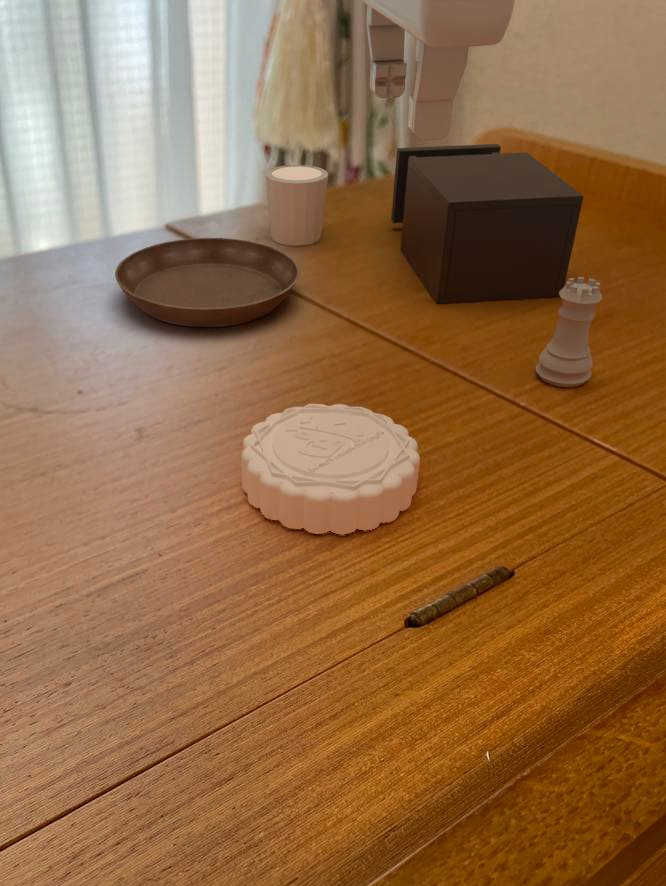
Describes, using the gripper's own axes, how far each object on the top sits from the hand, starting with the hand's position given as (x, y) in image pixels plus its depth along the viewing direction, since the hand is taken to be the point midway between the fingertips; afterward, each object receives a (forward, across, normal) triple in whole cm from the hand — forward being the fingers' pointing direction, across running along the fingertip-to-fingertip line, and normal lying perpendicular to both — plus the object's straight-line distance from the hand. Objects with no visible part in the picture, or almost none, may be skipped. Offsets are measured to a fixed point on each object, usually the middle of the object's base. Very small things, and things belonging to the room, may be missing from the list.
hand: (405, 114), depth 47 cm
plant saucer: (+23, +31, +10) cm, 40 cm away
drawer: (+22, +45, -18) cm, 53 cm away
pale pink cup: (+23, +48, 0) cm, 53 cm away
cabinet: (+23, +35, -18) cm, 45 cm away
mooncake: (+23, -2, +4) cm, 24 cm away
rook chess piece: (+24, +12, -18) cm, 32 cm away
